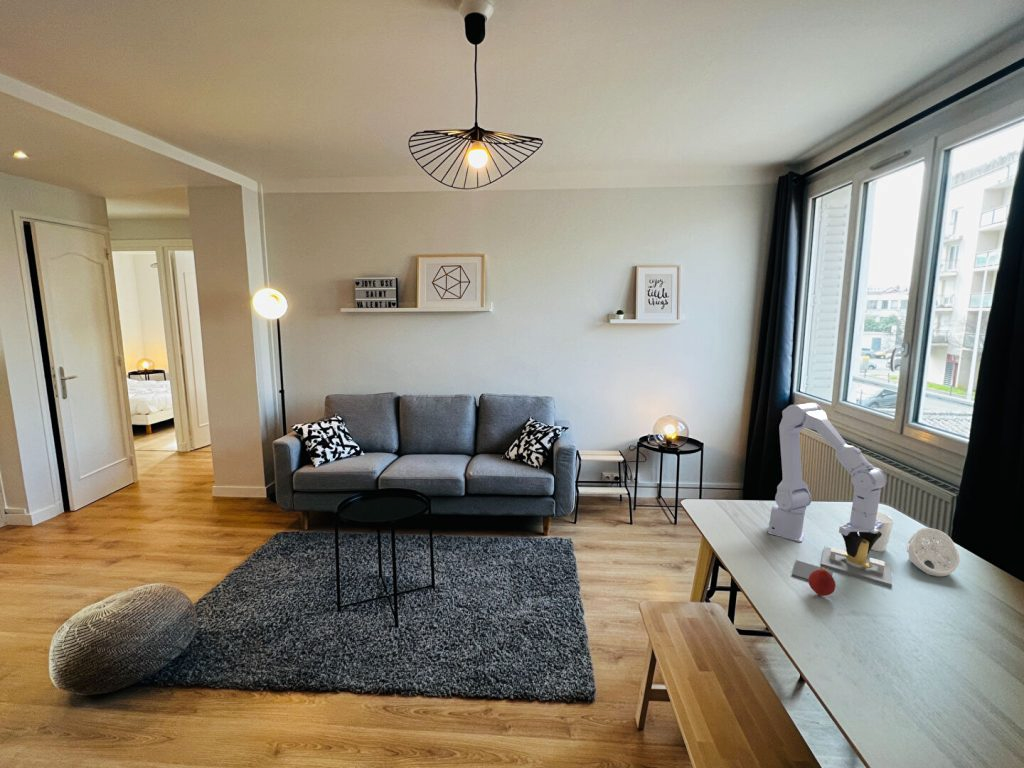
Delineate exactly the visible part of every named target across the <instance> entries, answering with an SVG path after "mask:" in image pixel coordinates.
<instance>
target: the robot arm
mask: <svg viewBox="0 0 1024 768" xmlns="http://www.w3.org/2000/svg"><path fill="white" fill-rule="evenodd" d="M781 414H782V418H781V421H780V423H779V426H778V427H779V428H778V429H779V430H778V431H779V444H780V457H781V471H782V472H781V473H782V480H781V481H780V483H779V484H778V485H777V487H776V489H777V490H776V493H775V497H774V500H775V504H772V506H771V511H770V516H769V522H768V526H769V527H768V531H767V532H768V534H769V535H773V536H777V537H780V538H784V539H787V540H792V541H795V542H799V543H802V542H803V538H804V535H805V531H803V529H804V523H805V522H804V521H805V515H806V514H805V513H806V509H807V507H809V506H810V505H811V503H812V494H811V493H810V490H809V485H808V484H807V483H806V482H805V481H804V480H803V470H802V454H801V443H800V442H801V441H800V440H801V439H800V432H801V431H802V430H804V429H809V430H815V431H817V433H818V434H819V435H820V436H821V437H822V438H823V440H825V442H827V444H828V445H830V447H832V449H834V451H835V458H836V460H837V461H839V463H840V464H841V466H842V467H843V468H844V469H845V470H846V472H847V473H848V474H849V475H850V476H851V480H850V481H851V483H852V486H853V488H854V490H853V492H854V493H853V499H852V506H851V511H850V519H849V520H848V521H847V522H845V523H844V524H842V525H840V526H839V530H838V533H840V534H841V536H842V538H843V541H844V544H845V552H847V554H848V555H850V556H852V557H855V556H856V555H857V551H858V548H859V545H860V543H861V542H862V541H863V539H866V540H868V541H869V547H868V553H867V555H869V554H870V552H871V551H872V550H871V548H872V546H873V545H874V543H875V542H876V541H877V539H878V538H880V537H881V535H882V533H881V532H879V531H878V530H877V529H878V528H879V529H883V526H884V522H881V521H879V520H876V517H877V512H878V509H879V505H880V504H879V503H880V497H881V492H882V491H881V490H882V488H884V487H885V486H887V483H888V478H887V475H886V474H885V472H884V471H883V470H882V469H881V468H878V467H875V466H874V465H873V464H872V463H870V462H869V460H867V458H866V457H865V456H864V455H863V454H862V450H861V449H860V448H858V447H856V446H854V445H849V444H847V442H846V441H845V440H844V438H843V437H842V436H841V434H840V433H839V431H837V430H836V427H834V425H833V424H832V422H831V421H830V420H829V419H828V416H827V413H826V411H825V410H823V409H822V407H821V406H820V404H818V403H817V402H807V403H802V404H790V405H788V406H787V407H786V408H784V409H783V410H782V412H781Z"/></svg>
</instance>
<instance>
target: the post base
mask: <svg viewBox="0 0 1024 768" xmlns="http://www.w3.org/2000/svg"><path fill="white" fill-rule="evenodd" d="M845 552H846V550H843V549H840V548H836V547H833V546H831V547H829V546H824V547H823V552H822V557H821V558H822V559H821V562H820V567H823V568H825V569H828V570H832V571H833V572H837V573H841V574H844V575H848V576H851V577H854V578H857V579H860V580H861V579H862V580H864V581H867V582H871V583H874V584H878V585H881V586H885V587H888V588H892V587H893V580H892V568H891V567H892V566H891V563H887V562H885V561H884V560H880V559H877V558H873V557H869V558H868V557H867V559H866V562H867V563H868V564H870V565H872V568H868V569H867V568H865V567H864V566H862V565H857V564H854V563H852V562H850V561H848V560H847V557H845V556H844V555H845Z"/></svg>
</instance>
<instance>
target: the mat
mask: <svg viewBox="0 0 1024 768" xmlns="http://www.w3.org/2000/svg"><path fill="white" fill-rule="evenodd" d="M820 567H821V566H818V565H815V564H813V563H812V564H810V563H807V562H805V561H801V560H797V559H796V560H795V564H794V566H793V570H792V574H791V576H792V577H793V578H797V579H800V580H804V581H806V582H808V579H809V576H810V574H811V573H812V572H814V571H816V570H820ZM825 570H826V571H827V572H828V573H830V574H831V576H832V577H833V574H834V571H833V570H830V569H827V568H825Z"/></svg>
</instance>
